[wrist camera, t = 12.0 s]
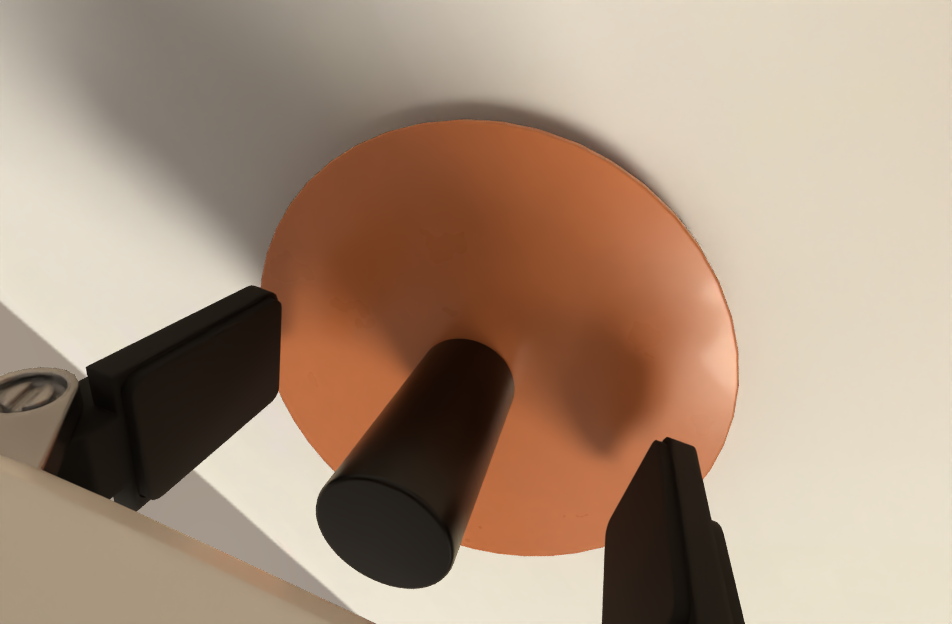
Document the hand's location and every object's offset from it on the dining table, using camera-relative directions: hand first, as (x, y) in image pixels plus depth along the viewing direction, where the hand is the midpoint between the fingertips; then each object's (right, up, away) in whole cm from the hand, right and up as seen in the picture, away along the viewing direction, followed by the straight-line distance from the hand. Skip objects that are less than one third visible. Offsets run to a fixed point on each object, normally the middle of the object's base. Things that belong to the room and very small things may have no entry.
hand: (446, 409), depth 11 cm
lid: (+1, +1, +2) cm, 2 cm away
